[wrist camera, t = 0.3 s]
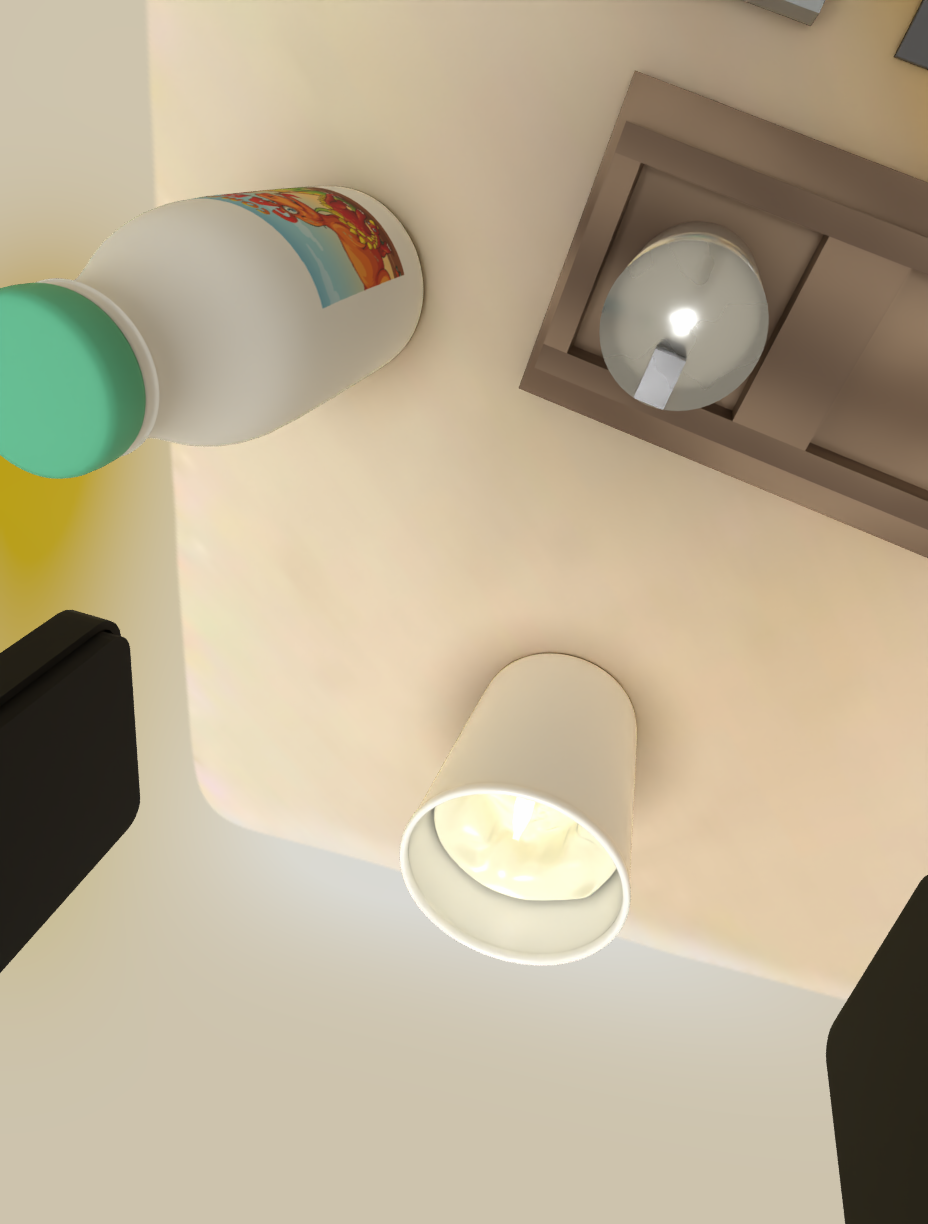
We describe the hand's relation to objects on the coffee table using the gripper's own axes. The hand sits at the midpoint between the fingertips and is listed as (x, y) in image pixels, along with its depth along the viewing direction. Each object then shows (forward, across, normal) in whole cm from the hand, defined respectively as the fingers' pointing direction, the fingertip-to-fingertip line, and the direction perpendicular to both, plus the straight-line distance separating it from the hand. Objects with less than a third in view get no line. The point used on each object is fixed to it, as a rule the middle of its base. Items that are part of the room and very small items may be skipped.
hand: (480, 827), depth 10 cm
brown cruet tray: (+29, -6, -2) cm, 30 cm away
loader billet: (+28, -1, -2) cm, 28 cm away
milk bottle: (+30, +14, 0) cm, 33 cm away
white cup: (+30, 0, +20) cm, 36 cm away
